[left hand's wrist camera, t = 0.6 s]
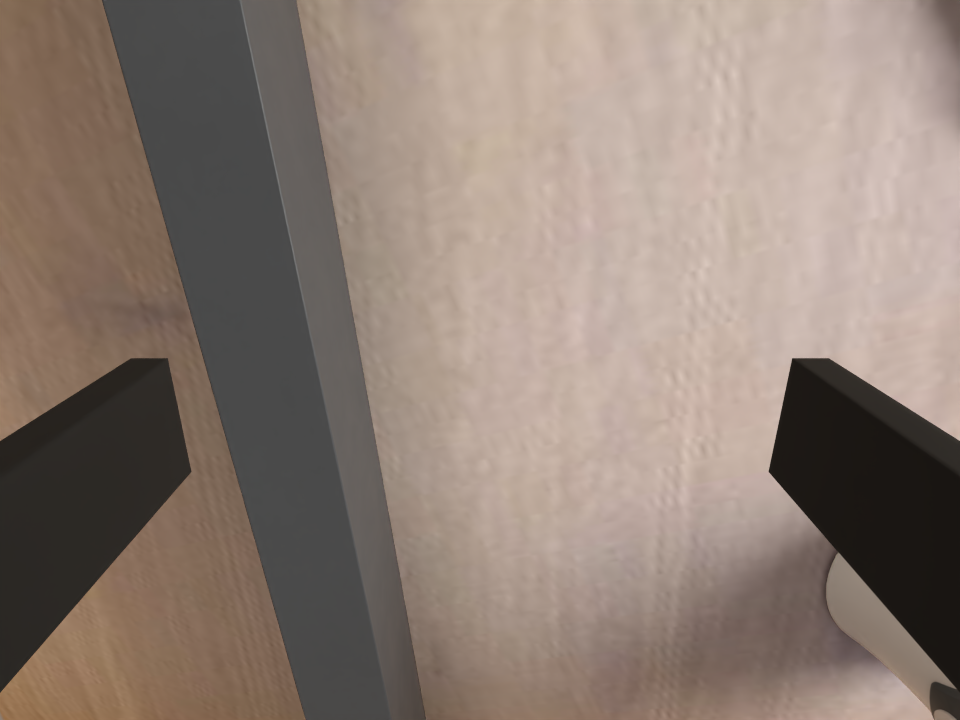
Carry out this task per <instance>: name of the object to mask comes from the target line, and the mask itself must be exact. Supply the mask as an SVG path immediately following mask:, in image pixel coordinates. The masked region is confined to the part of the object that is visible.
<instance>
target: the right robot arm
mask: <svg viewBox="0 0 960 720" xmlns="http://www.w3.org/2000/svg"><path fill="white" fill-rule="evenodd" d="M826 601H827V606H828V609H829V612H830V614H831V616H832V618H833V620H834V622H835V623H836V624H837V626H838V627H839V628H840V629H841V630H842V631H843V632H844V633H845V634H847V635H848V636H849V637H851V638H852V639H853V640H855V641H856V642H858V643H859V644H860V645H861V646H863V647H864V648H865V649H867V650H868V651H869V652H870V653H871V654H873V655H874V656H875V657H876V658H877V659H878V660H880V661H881V662H882V663H883V664H884V665H885V666H886V667H887V668H888V669H889V670H890V671H891V672H893V673H894V674H895V675H896V676H897V677H898V678H899V679H900V680H901V681H902V682H903V683H904V684H905V685H906V686H907V687H908V688H909V689H910V690H911V691H912V692H913V693H914V694H915V695H916V696H917V698H918V699H919V700H920V701H921V702H922V703H923V704H924V705H925V706H926V707H927V708H928V709H929V710H930V712H931V713H932V715H933V718H934V720H960V692H959V691H958V690H957V689H956V688H955V686H954V685H953V684H952V683H951V682H950V681H949V680H948V678H947V677H946V676H945V675H944V674H943V673H942V671H941V670H940V669H939V668H938V667H937V666H936V664H935V663H934V662H933V661H932V660H931V659H930V658H929V656H928V655H927V654H926V653H925V652H924V651H923V649H922V648H921V647H920V646H919V645H918V644H917V643H916V641H915V640H914V639H913V638H912V637H911V636H910V634H909V633H908V632H907V631H906V630H905V629H904V628H903V626H902V625H901V624H900V623H899V622H898V621H897V619H896V618H895V617H894V616H893V615H892V614H891V612H890V611H889V610H888V609H887V608H886V607H885V606H884V604H883V603H882V602H881V601H880V600H879V599H878V597H877V596H876V595H875V594H874V593H873V592H872V591H871V589H870V588H869V587H868V586H867V585H866V584H865V582H864V581H863V580H862V579H861V578H860V577H859V576H858V574H857V573H856V572H855V571H854V570H853V569H852V567H851V566H850V565H849V564H848V563H847V562H846V560H845V559H844V558H843V557H842V556H841V555H840V554H839V552H838V553H837V555H836V557H835V559H834V561H833V563H832V565H831V567H830V570H829V573H828V577H827V583H826Z"/></svg>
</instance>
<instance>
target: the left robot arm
mask: <svg viewBox="0 0 960 720" xmlns="http://www.w3.org/2000/svg"><path fill="white" fill-rule="evenodd" d="M190 473H191V468H190V463H189V458H188V454H187V449H186V444H185V439H184V434H183V430H182V425H181V420H180V415H179V410H178V406H177V401H176V396H175V391H174V386H173V382H172V377H171V372H170V367H169V363H168V358H131V359H130V360H128V361H126V362H125V363H123V364H122V365H120V366H118V367H117V368H115V369H114V370H112V371H111V372H109V373H107V374H106V375H104V376H103V377H101V378H99V379H98V380H96V381H95V382H93V383H92V384H90V385H88V386H87V387H85V388H84V389H82V390H80V391H79V392H77V393H76V394H74V395H73V396H71V397H69V398H68V399H66V400H65V401H63V402H61V403H60V404H58V405H57V406H55V407H54V408H52V409H50V410H49V411H47V412H46V413H44V414H42V415H41V416H39V417H38V418H36V419H35V420H33V421H31V422H30V423H28V424H27V425H25V426H23V427H22V428H20V429H19V430H17V431H16V432H14V433H12V434H11V435H9V436H8V437H6V438H4V439H3V440H1V441H0V692H1V691H2V690H3V689H4V688H5V686H6V685H7V684H8V683H9V682H10V681H11V680H12V678H13V677H14V676H15V675H16V674H17V673H18V671H19V670H20V669H21V668H22V667H23V666H24V664H25V663H26V662H27V661H28V660H29V659H30V658H31V656H32V655H33V654H34V653H35V652H36V651H37V649H38V648H39V647H40V646H41V645H42V644H43V643H44V641H45V640H46V639H47V638H48V637H49V636H50V634H51V633H52V632H53V631H54V630H55V629H56V628H57V626H58V625H59V624H60V623H61V622H62V621H63V619H64V618H65V617H66V616H67V615H68V614H69V612H70V611H71V610H72V609H73V608H74V607H75V606H76V604H77V603H78V602H79V601H80V600H81V599H82V597H83V596H84V595H85V594H86V593H87V592H88V591H89V589H90V588H91V587H92V586H93V585H94V584H95V582H96V581H97V580H98V579H99V578H100V577H101V576H102V574H103V573H104V572H105V571H106V570H107V569H108V567H109V566H110V565H111V564H112V563H113V562H114V560H115V559H116V558H117V557H118V556H119V555H120V554H121V552H122V551H123V550H124V549H125V548H126V547H127V545H128V544H129V543H130V542H131V541H132V540H133V539H134V537H135V536H136V535H137V534H138V533H139V532H140V530H141V529H142V528H143V527H144V526H145V525H146V524H147V522H148V521H149V520H150V519H151V518H152V517H153V515H154V514H155V513H156V512H157V511H158V510H159V508H160V507H161V506H162V505H163V504H164V503H165V502H166V500H167V499H168V498H169V497H170V496H171V495H172V493H173V492H174V491H175V490H176V489H177V488H178V487H179V485H180V484H181V483H182V482H183V481H184V480H185V478H186V477H187V476H188V475H189V474H190ZM769 473H770V474H771V475H772V476H773V477H774V478H775V480H776V481H777V482H778V483H779V484H780V485H781V487H782V488H783V489H784V490H785V491H786V492H787V493H788V495H789V496H790V497H791V498H792V499H793V500H794V502H795V503H796V504H797V505H798V506H799V507H800V508H801V510H802V511H803V512H804V513H805V514H806V515H807V517H808V518H809V519H810V520H811V521H812V522H813V524H814V525H815V526H816V527H817V528H818V529H819V530H820V532H821V533H822V534H823V535H824V536H825V537H826V539H827V540H828V541H829V542H830V543H831V544H832V545H833V547H834V548H835V549H836V550H837V551H838V552H839V554H840V555H841V556H842V557H843V558H844V559H845V560H846V562H847V563H848V564H849V565H850V566H851V567H852V569H853V570H854V571H855V572H856V573H857V574H858V576H859V577H860V578H861V579H862V580H863V581H864V582H865V584H866V585H867V586H868V587H869V588H870V589H871V591H872V592H873V593H874V594H875V595H876V596H877V597H878V599H879V600H880V601H881V602H882V603H883V604H884V606H885V607H886V608H887V609H888V610H889V611H890V612H891V614H892V615H893V616H894V617H895V618H896V619H897V621H898V622H899V623H900V624H901V625H902V626H903V628H904V629H905V630H906V631H907V632H908V633H909V634H910V636H911V637H912V638H913V639H914V640H915V641H916V643H917V644H918V645H919V646H920V647H921V648H922V649H923V651H924V652H925V653H926V654H927V655H928V656H929V658H930V659H931V660H932V661H933V662H934V663H935V664H936V666H937V667H938V668H939V669H940V670H941V671H942V673H943V674H944V675H945V676H946V677H947V678H948V680H949V681H950V682H951V683H952V684H953V685H954V686H955V688H956V689H957V690H958V691H959V692H960V441H959V440H957V439H956V438H954V437H952V436H951V435H949V434H948V433H946V432H944V431H943V430H941V429H940V428H938V427H937V426H935V425H933V424H932V423H930V422H929V421H927V420H925V419H924V418H922V417H921V416H919V415H918V414H916V413H914V412H913V411H911V410H910V409H908V408H906V407H905V406H903V405H902V404H900V403H899V402H897V401H895V400H894V399H892V398H891V397H889V396H887V395H886V394H884V393H883V392H881V391H880V390H878V389H876V388H875V387H873V386H872V385H870V384H868V383H867V382H865V381H864V380H862V379H861V378H859V377H857V376H856V375H854V374H853V373H851V372H849V371H848V370H846V369H845V368H843V367H842V366H840V365H838V364H837V363H835V362H834V361H832V360H830V359H829V358H792V363H791V367H790V372H789V377H788V382H787V386H786V391H785V396H784V401H783V406H782V410H781V415H780V420H779V425H778V430H777V434H776V439H775V444H774V449H773V454H772V458H771V463H770V468H769Z"/></svg>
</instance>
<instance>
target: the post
mask: <svg viewBox="0 0 960 720" xmlns="http://www.w3.org/2000/svg"><path fill="white" fill-rule="evenodd" d="M102 2H103V5H104V9H105V12H106V16H107V19H108V23H109V26H110V30H111V33H112V37H113V41H114V44H115V48H116V51H117V55H118V58H119V62H120V65H121V69H122V72H123V76H124V79H125V83H126V86H127V90H128V93H129V97H130V101H131V104H132V108H133V111H134V115H135V118H136V122H137V125H138V129H139V132H140V136H141V139H142V143H143V146H144V150H145V154H146V157H147V161H148V164H149V168H150V171H151V175H152V178H153V182H154V185H155V189H156V192H157V196H158V199H159V203H160V207H161V210H162V214H163V217H164V221H165V224H166V228H167V231H168V235H169V238H170V242H171V245H172V249H173V252H174V256H175V260H176V263H177V267H178V270H179V274H180V277H181V281H182V284H183V288H184V291H185V295H186V298H187V302H188V305H189V309H190V312H191V316H192V320H193V323H194V327H195V330H196V334H197V337H198V341H199V344H200V348H201V351H202V355H203V358H204V362H205V365H206V369H207V373H208V376H209V380H210V383H211V387H212V390H213V394H214V397H215V401H216V404H217V408H218V411H219V415H220V418H221V422H222V426H223V429H224V433H225V436H226V440H227V443H228V447H229V450H230V454H231V457H232V461H233V464H234V468H235V471H236V475H237V479H238V482H239V486H240V489H241V493H242V496H243V500H244V503H245V507H246V510H247V514H248V517H249V521H250V524H251V528H252V532H253V535H254V539H255V542H256V546H257V549H258V553H259V556H260V560H261V563H262V567H263V570H264V574H265V577H266V581H267V584H268V588H269V592H270V595H271V599H272V602H273V606H274V609H275V613H276V616H277V620H278V623H279V627H280V630H281V634H282V637H283V641H284V645H285V648H286V652H287V655H288V659H289V662H290V666H291V669H292V673H293V676H294V680H295V683H296V687H297V690H298V694H299V698H300V701H301V705H302V708H303V712H304V715H305V719H306V720H426V718H425V713H424V707H423V701H422V696H421V690H420V685H419V679H418V674H417V668H416V663H415V657H414V652H413V646H412V640H411V635H410V629H409V624H408V618H407V613H406V607H405V602H404V596H403V591H402V585H401V579H400V574H399V568H398V563H397V557H396V552H395V546H394V541H393V535H392V529H391V524H390V518H389V513H388V507H387V502H386V496H385V491H384V485H383V480H382V474H381V468H380V463H379V457H378V452H377V446H376V441H375V435H374V430H373V424H372V419H371V413H370V407H369V402H368V396H367V391H366V385H365V380H364V374H363V369H362V363H361V357H360V352H359V346H358V341H357V335H356V330H355V324H354V319H353V313H352V308H351V302H350V296H349V291H348V285H347V280H346V274H345V269H344V263H343V258H342V252H341V247H340V241H339V235H338V230H337V224H336V219H335V213H334V208H333V202H332V197H331V191H330V186H329V180H328V174H327V169H326V163H325V158H324V152H323V147H322V141H321V136H320V130H319V124H318V119H317V113H316V108H315V102H314V97H313V91H312V86H311V80H310V75H309V69H308V63H307V58H306V52H305V47H304V41H303V36H302V30H301V25H300V19H299V14H298V8H297V2H296V0H102Z"/></svg>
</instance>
